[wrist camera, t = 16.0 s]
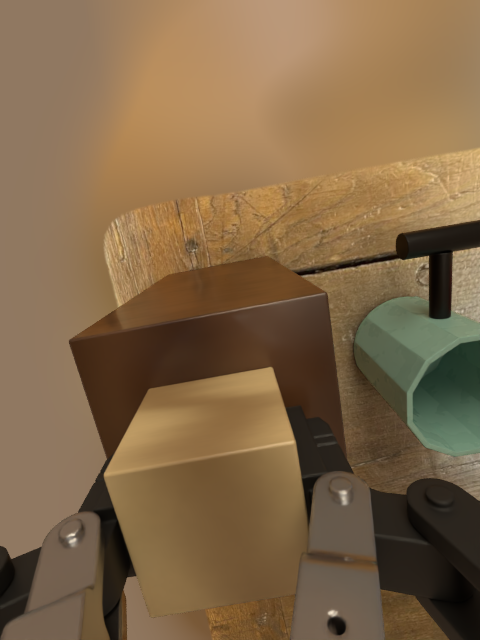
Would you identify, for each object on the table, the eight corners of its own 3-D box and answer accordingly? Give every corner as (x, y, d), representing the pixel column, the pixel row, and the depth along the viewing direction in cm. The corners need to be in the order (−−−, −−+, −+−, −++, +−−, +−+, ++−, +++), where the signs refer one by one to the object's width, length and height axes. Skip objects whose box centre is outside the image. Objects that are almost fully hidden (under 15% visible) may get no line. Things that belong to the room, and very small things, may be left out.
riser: (189, 368, 32) (135, 547, 14) (167, 274, 30) (67, 340, 12) (283, 351, 32) (354, 510, 14) (268, 255, 30) (327, 291, 11)
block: (176, 492, 13) (149, 620, 9) (148, 387, 12) (101, 475, 8) (290, 472, 13) (320, 591, 9) (272, 365, 12) (295, 441, 8)
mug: (345, 233, 29) (404, 242, 19) (451, 214, 29) (564, 215, 19) (356, 392, 33) (407, 464, 24) (447, 377, 33) (536, 444, 24)
